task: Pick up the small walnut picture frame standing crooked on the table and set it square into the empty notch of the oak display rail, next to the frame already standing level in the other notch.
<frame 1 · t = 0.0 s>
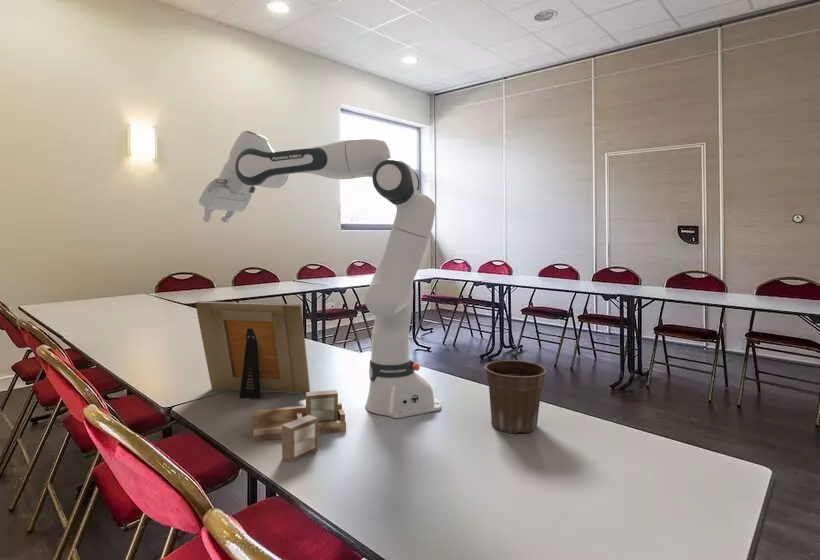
hand: (215, 221, 149), 54 cm above the table, tool tilted 30°, fingers open, 8 cm apart
walnut frame: (300, 454, 113), on the table
external hard drive: (319, 410, 143), on the table
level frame: (321, 422, 128), resting on oak rail
plant pot: (512, 425, 132), on the table
oak rail: (299, 430, 126), on the table
picture frame: (254, 395, 152), on the table
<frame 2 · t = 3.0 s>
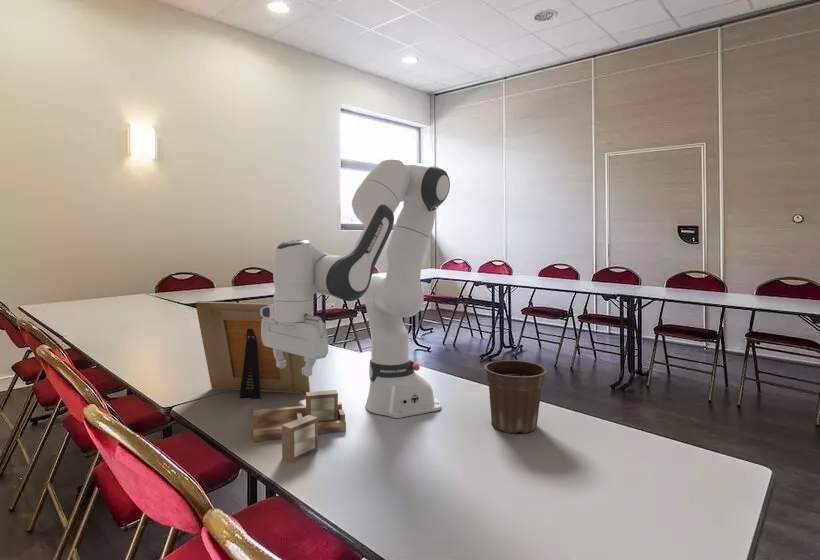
hand: (293, 371, 111), 20 cm above the table, tool pointing down, fingers open, 8 cm apart
nothing on the table moved.
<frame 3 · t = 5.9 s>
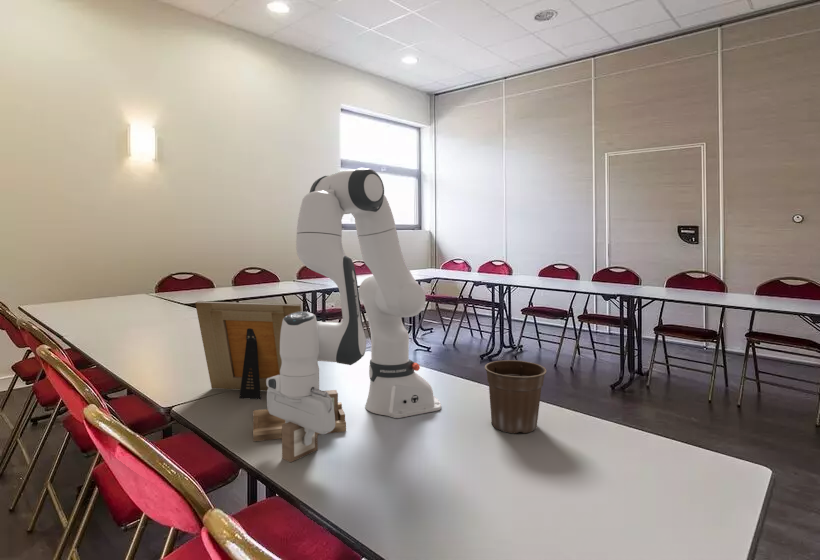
hand: (300, 441, 112), 3 cm above the table, tool pointing down, fingers closed on walnut frame, 3 cm apart
walnut frame: (300, 454, 113), on the table, touching gripper
everything else where it was.
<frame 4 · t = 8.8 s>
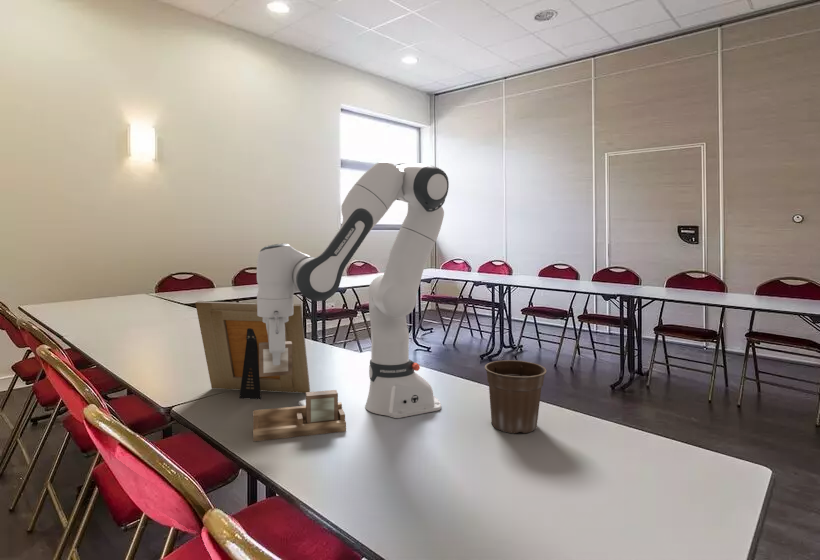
hand: (276, 362, 123), 19 cm above the table, tool pointing down, fingers closed on walnut frame, 3 cm apart
walnut frame: (275, 374, 123), point 15 cm above the table, touching gripper
everything else where it was.
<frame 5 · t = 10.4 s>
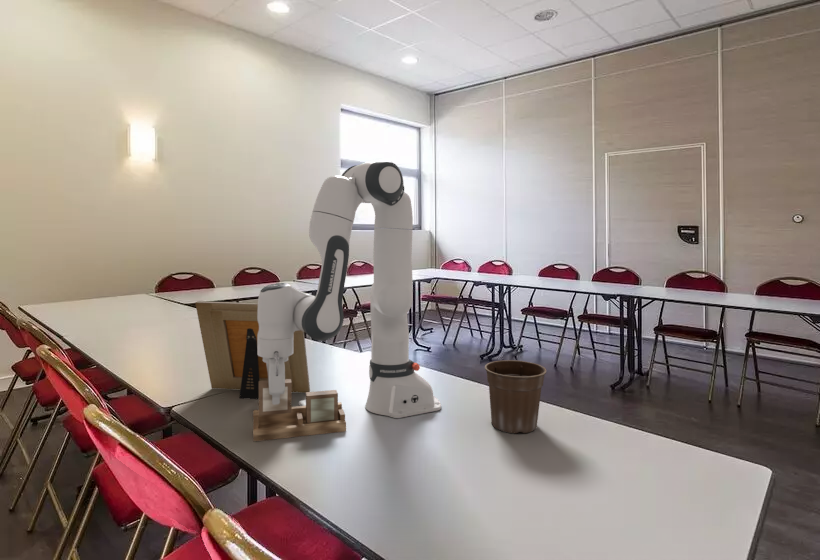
hand: (275, 400, 123), 9 cm above the table, tool pointing down, fingers closed on walnut frame, 3 cm apart
walnut frame: (275, 412, 124), point 5 cm above the table, touching gripper
everything else where it was.
when the fingers open (6 cm above the table, at t = 11.7 s): walnut frame stays where it is, resting on oak rail.
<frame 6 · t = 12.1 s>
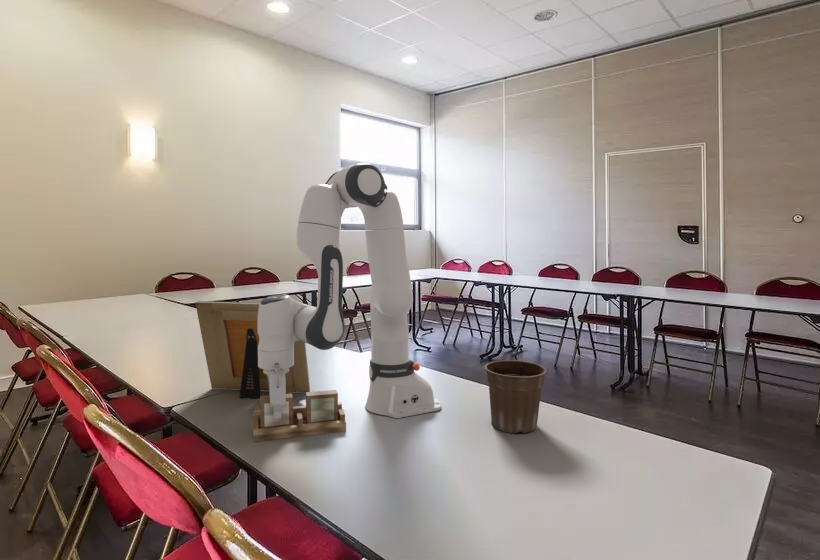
hand: (276, 411, 124), 6 cm above the table, tool pointing down, fingers open, 7 cm apart
walnut frame: (276, 426, 124), point 1 cm above the table, touching oak rail
everything else where it was.
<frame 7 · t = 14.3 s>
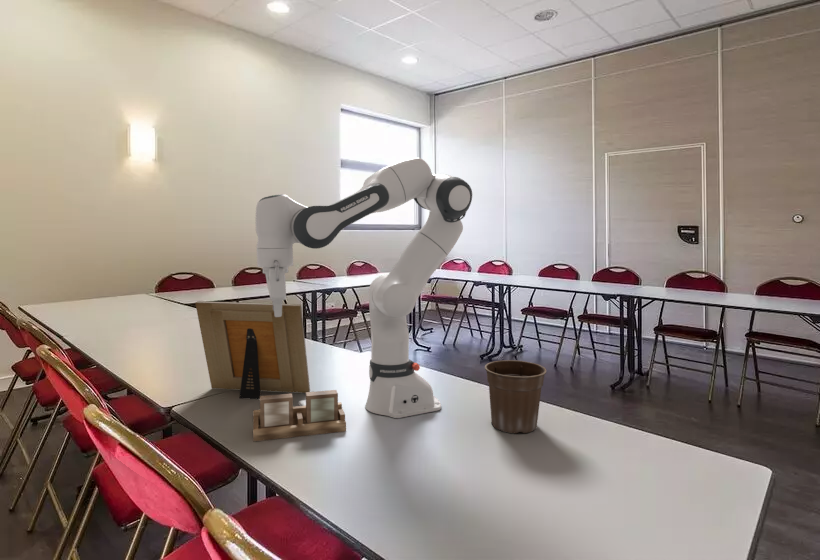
hand: (277, 313, 123), 31 cm above the table, tool pointing down, fingers open, 8 cm apart
nothing on the table moved.
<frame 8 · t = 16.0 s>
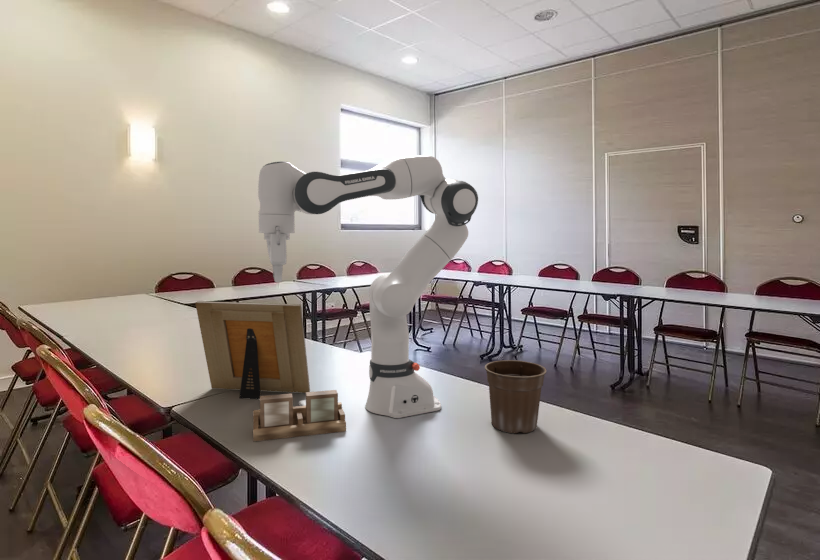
hand: (277, 280, 124), 39 cm above the table, tool pointing down, fingers open, 8 cm apart
nothing on the table moved.
at the end: walnut frame 0.1 cm from the target spot on the oak rail, point 1.5 cm above the oak rail's base; walnut frame tilted 0°; the gripper is holding nothing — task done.
